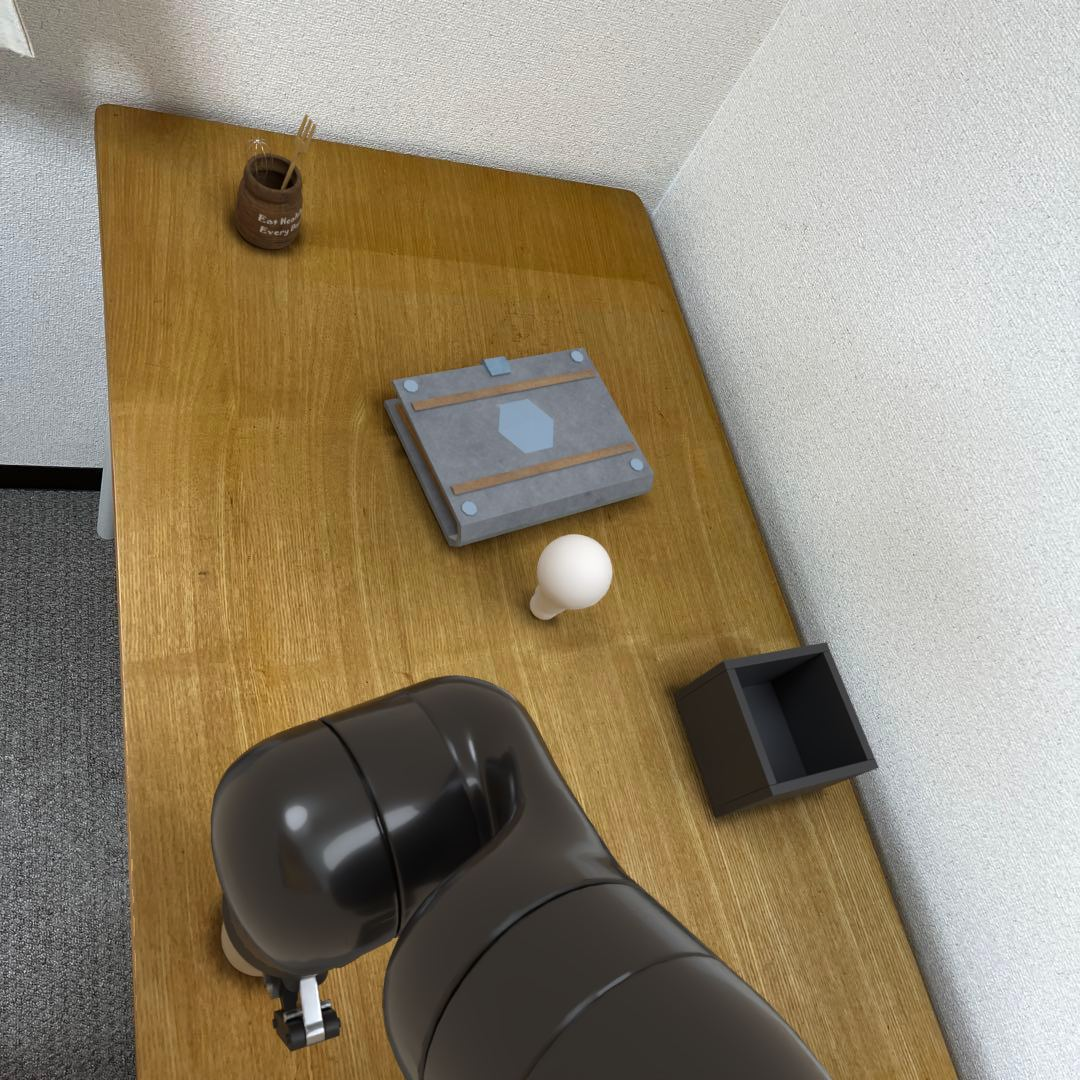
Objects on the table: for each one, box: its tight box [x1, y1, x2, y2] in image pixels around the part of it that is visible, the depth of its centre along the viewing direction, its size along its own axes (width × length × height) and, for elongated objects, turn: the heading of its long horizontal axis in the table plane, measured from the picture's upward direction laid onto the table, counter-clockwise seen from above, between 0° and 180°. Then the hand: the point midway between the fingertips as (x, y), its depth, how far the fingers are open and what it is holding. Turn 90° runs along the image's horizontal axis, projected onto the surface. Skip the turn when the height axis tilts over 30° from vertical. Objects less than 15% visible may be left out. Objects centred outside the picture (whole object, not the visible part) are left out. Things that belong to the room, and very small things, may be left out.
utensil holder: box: [235, 113, 317, 250], centre depth 83 cm, size 6×6×12 cm
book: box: [383, 347, 655, 548], centre depth 84 cm, size 21×16×5 cm
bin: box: [673, 641, 880, 819], centre depth 77 cm, size 11×11×9 cm
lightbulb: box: [529, 533, 613, 621], centre depth 75 cm, size 6×6×11 cm
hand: (273, 922), depth 55 cm, fingers open, 5 cm apart
